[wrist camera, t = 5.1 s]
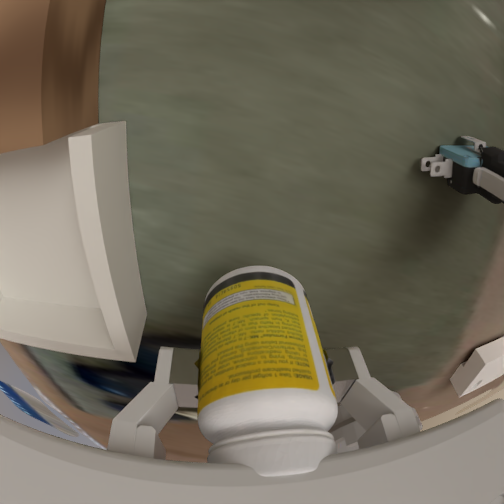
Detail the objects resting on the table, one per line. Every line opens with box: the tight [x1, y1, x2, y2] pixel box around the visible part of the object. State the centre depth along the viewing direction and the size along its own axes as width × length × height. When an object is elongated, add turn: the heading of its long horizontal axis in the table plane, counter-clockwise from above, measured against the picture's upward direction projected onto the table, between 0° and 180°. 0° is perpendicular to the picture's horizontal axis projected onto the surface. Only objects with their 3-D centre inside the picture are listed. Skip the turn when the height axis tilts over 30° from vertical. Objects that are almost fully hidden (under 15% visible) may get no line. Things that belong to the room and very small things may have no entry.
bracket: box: [450, 337, 504, 397], centre depth 25 cm, size 13×7×8 cm, turn 92°
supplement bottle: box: [198, 266, 338, 476], centre depth 10 cm, size 5×5×8 cm
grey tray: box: [0, 121, 147, 362], centre depth 12 cm, size 12×13×4 cm
